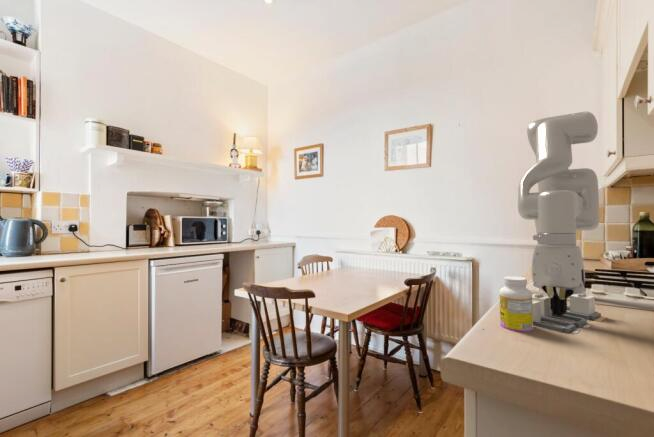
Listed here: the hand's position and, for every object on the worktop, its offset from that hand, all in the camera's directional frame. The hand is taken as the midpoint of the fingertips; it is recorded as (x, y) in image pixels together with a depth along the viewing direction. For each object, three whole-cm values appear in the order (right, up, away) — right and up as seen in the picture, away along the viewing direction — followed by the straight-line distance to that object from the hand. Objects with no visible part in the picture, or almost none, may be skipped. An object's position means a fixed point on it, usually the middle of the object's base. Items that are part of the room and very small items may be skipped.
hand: (558, 313), depth 78 cm
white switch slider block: (+9, -1, +3) cm, 9 cm away
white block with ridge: (-2, -2, +4) cm, 5 cm away
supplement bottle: (-13, -3, -4) cm, 14 cm away
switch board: (+1, -3, +2) cm, 4 cm away
